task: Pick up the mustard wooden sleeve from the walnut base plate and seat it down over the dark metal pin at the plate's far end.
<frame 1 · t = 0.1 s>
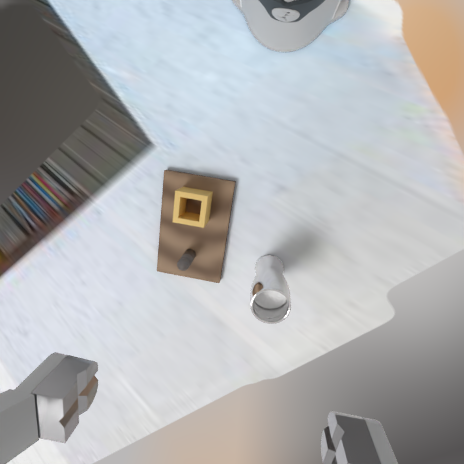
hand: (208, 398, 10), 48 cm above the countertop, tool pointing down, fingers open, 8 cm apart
beer glass: (269, 267, 60), on the countertop
base plate: (194, 227, 59), on the countertop
sleeve: (196, 203, 56), point 1 cm above the countertop, touching base plate
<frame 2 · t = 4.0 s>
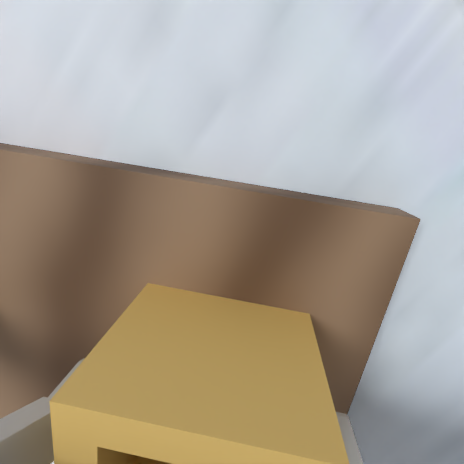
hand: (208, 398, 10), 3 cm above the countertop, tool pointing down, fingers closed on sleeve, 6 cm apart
base plate: (104, 314, 13), on the countertop
sleeve: (216, 363, 11), point 2 cm above the countertop, touching base plate, gripper
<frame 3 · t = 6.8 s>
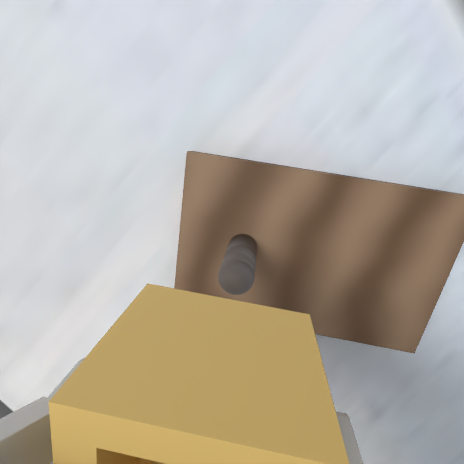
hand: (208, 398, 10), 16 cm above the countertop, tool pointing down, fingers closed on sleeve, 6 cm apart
base plate: (305, 252, 24), on the countertop
sleeve: (216, 363, 11), point 15 cm above the countertop, touching gripper
when the fingers open (5 cm above the countertop, at t = 9.4 s): sleeve drops 2 cm, resting on base plate.
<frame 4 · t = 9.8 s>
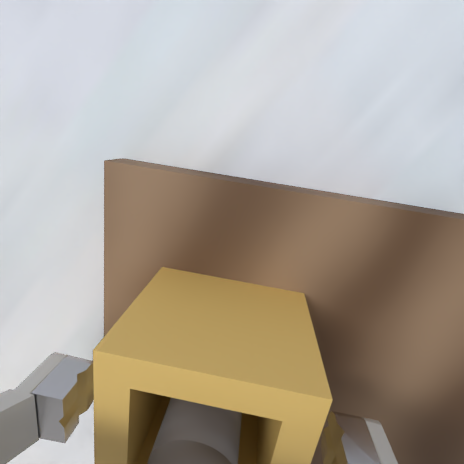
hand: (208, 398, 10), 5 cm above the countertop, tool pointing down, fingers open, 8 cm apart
base plate: (336, 340, 14), on the countertop
sleeve: (222, 338, 13), point 1 cm above the countertop, touching base plate
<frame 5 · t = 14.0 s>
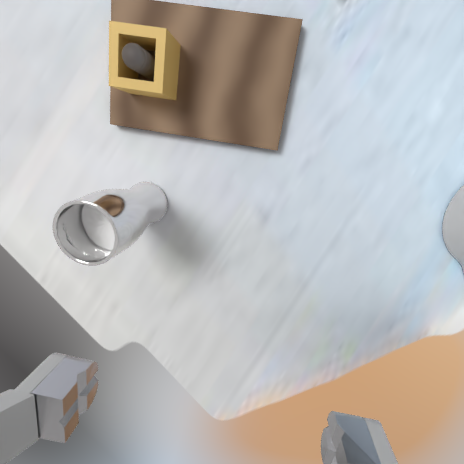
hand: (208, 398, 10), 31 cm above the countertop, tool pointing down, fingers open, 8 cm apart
beer glass: (148, 202, 41), on the countertop
base plate: (200, 79, 35), on the countertop
sleeve: (154, 70, 34), point 1 cm above the countertop, touching base plate
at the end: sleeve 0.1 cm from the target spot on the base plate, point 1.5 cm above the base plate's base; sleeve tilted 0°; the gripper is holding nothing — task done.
